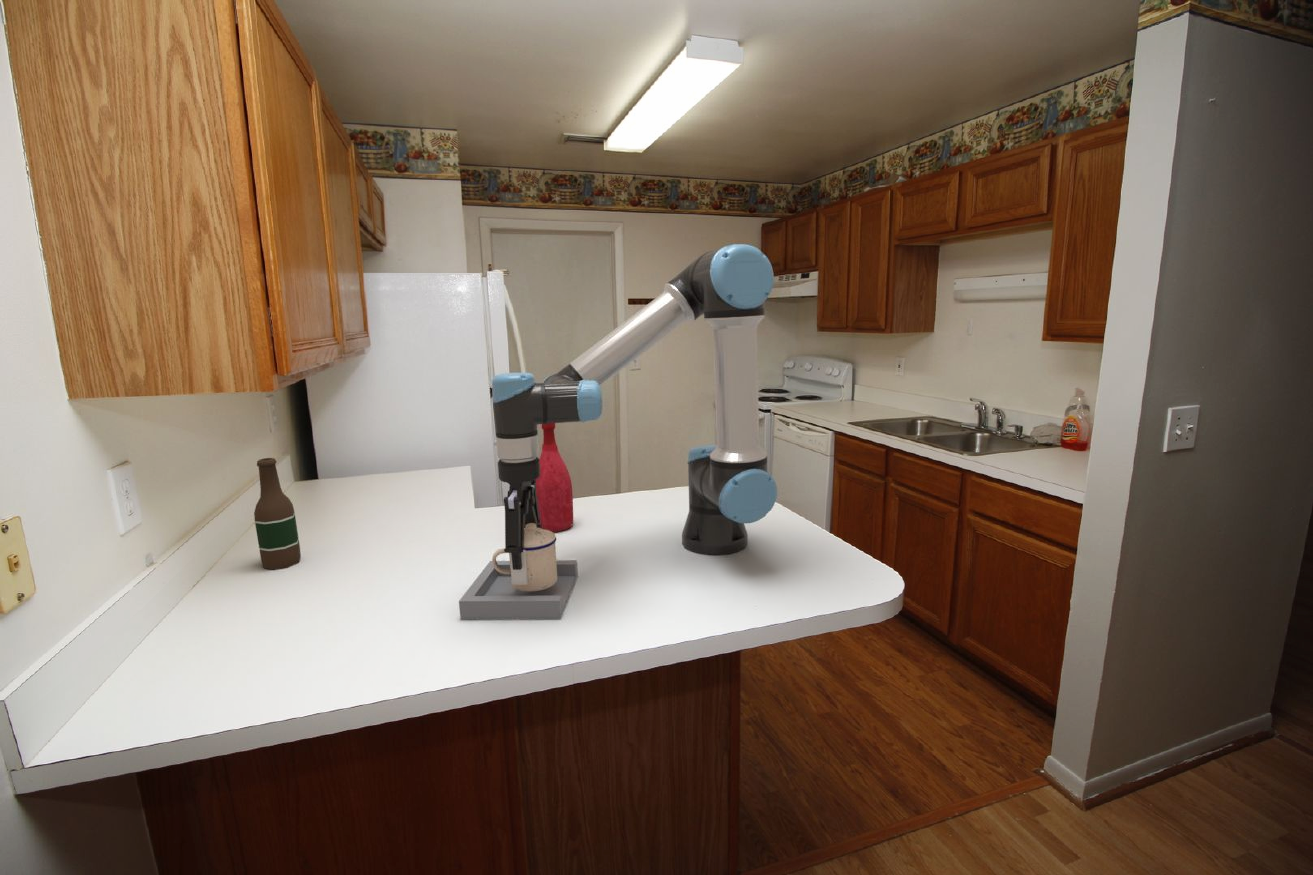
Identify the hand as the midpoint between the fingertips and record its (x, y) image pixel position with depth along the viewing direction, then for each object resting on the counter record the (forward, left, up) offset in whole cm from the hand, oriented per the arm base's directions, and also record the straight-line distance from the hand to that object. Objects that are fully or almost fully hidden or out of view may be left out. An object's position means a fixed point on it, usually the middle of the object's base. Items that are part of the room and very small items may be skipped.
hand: (526, 572), depth 116 cm
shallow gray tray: (+1, 0, -5) cm, 5 cm away
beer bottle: (+60, -17, -5) cm, 63 cm away
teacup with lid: (0, 0, -2) cm, 2 cm away
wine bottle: (+3, -39, -5) cm, 39 cm away
